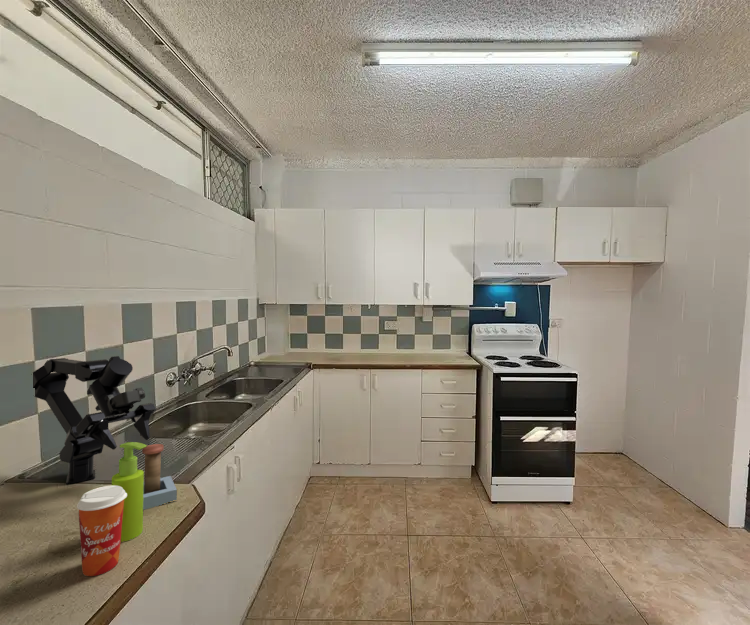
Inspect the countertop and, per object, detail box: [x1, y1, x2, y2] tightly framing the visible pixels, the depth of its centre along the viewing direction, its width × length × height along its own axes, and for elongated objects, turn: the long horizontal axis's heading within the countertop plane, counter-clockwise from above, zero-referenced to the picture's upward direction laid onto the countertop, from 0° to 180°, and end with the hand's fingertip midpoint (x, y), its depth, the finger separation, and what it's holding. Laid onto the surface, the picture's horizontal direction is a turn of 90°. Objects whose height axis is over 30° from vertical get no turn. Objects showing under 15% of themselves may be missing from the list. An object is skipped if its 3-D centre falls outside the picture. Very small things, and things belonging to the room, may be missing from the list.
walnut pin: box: [141, 443, 165, 494], centre depth 97 cm, size 5×5×14 cm
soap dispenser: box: [111, 441, 148, 543], centre depth 81 cm, size 6×7×20 cm
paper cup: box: [76, 484, 127, 577], centre depth 71 cm, size 8×8×14 cm
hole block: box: [143, 475, 178, 511], centre depth 97 cm, size 10×10×3 cm
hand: (132, 443), depth 99 cm, fingers open, 9 cm apart
